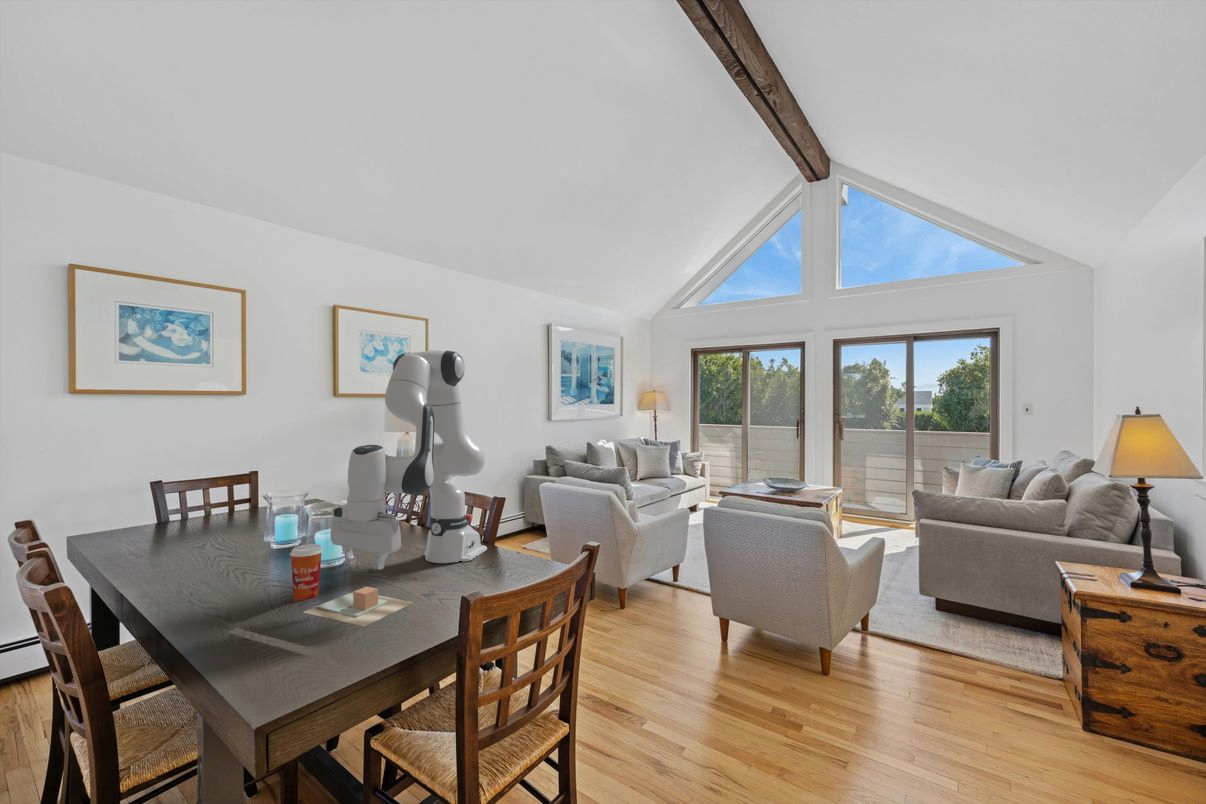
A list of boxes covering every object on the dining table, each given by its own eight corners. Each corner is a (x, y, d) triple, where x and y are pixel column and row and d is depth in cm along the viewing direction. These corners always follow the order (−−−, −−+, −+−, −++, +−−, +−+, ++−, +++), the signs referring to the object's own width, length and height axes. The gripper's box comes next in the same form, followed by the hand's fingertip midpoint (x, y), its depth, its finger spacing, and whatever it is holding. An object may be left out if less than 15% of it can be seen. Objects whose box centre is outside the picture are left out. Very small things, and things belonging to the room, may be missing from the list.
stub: (373, 599, 137) (374, 582, 137) (388, 602, 135) (388, 585, 135) (341, 613, 128) (341, 595, 128) (356, 617, 126) (357, 598, 126)
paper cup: (285, 606, 135) (285, 552, 135) (294, 596, 143) (294, 544, 142) (318, 604, 137) (319, 550, 137) (326, 593, 145) (326, 542, 145)
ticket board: (356, 595, 144) (356, 588, 144) (413, 607, 136) (413, 600, 136) (302, 617, 129) (302, 609, 129) (363, 631, 121) (363, 623, 121)
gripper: (407, 512, 130) (406, 568, 130) (347, 505, 138) (345, 557, 138) (388, 516, 125) (387, 575, 124) (326, 509, 133) (324, 564, 132)
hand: (364, 566), depth 131 cm, fingers open, 8 cm apart
